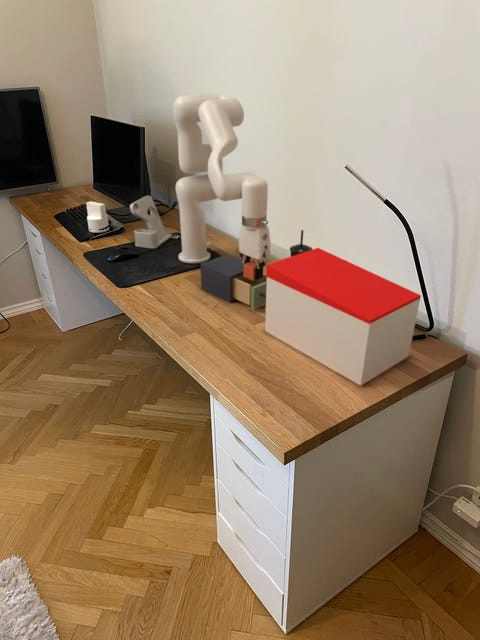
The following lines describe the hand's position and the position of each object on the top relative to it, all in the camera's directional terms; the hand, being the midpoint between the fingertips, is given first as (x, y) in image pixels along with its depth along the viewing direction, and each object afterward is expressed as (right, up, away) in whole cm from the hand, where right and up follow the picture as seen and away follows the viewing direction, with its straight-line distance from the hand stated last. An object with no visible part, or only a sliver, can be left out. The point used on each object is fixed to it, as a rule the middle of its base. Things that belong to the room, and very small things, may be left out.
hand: (253, 275), depth 156 cm
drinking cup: (+16, -2, +15) cm, 22 cm away
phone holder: (-42, +20, +54) cm, 71 cm away
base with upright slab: (-69, +27, +68) cm, 100 cm away
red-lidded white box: (+22, -21, -19) cm, 36 cm away
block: (0, 0, 0) cm, 0 cm away
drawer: (+1, -8, +2) cm, 8 cm away
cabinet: (-8, -4, +11) cm, 14 cm away
